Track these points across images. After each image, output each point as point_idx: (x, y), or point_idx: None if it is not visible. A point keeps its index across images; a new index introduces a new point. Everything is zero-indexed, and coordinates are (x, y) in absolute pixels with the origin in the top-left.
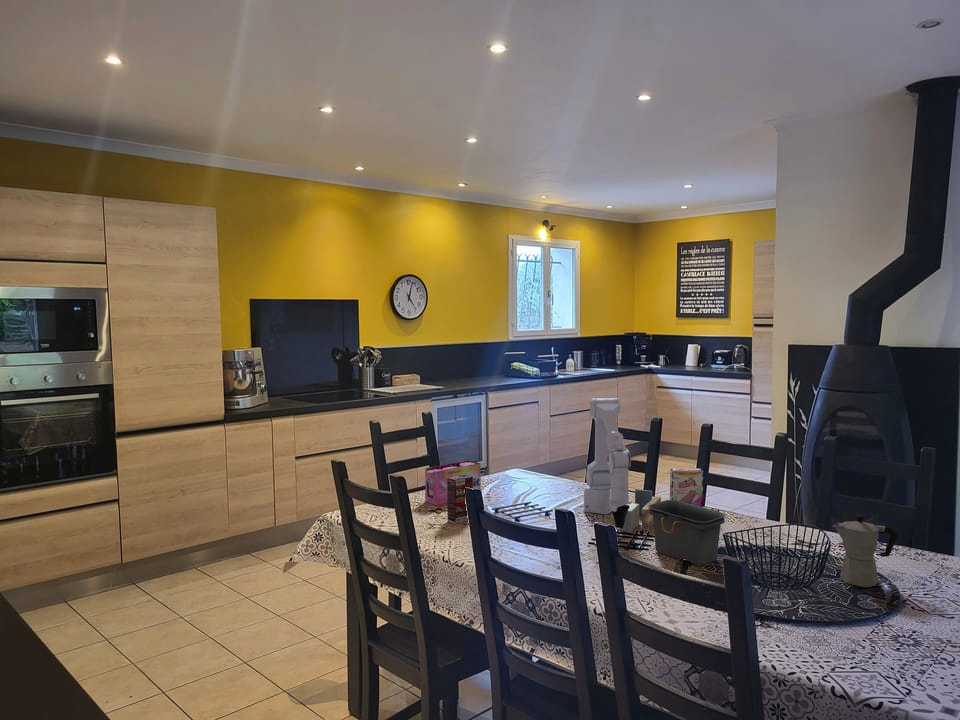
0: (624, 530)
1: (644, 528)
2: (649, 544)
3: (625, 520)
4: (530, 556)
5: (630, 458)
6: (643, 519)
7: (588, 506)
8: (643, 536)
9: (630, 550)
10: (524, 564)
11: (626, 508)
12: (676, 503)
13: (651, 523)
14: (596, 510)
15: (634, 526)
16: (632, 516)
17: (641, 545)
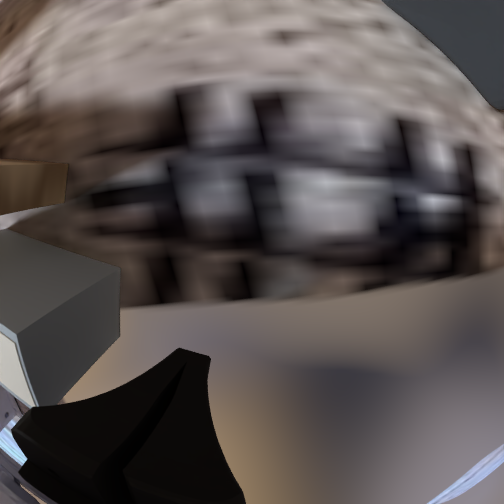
0: (117, 310)
1: (61, 185)
2: (385, 124)
3: (78, 337)
4: (457, 485)
5: None
6: (16, 198)
7: (5, 412)
8: (199, 171)
9: (492, 254)
10: (492, 469)
11: (148, 496)
12: None
13: (8, 159)
14: (3, 390)
15: (55, 252)
16: (29, 294)
17: (417, 183)
